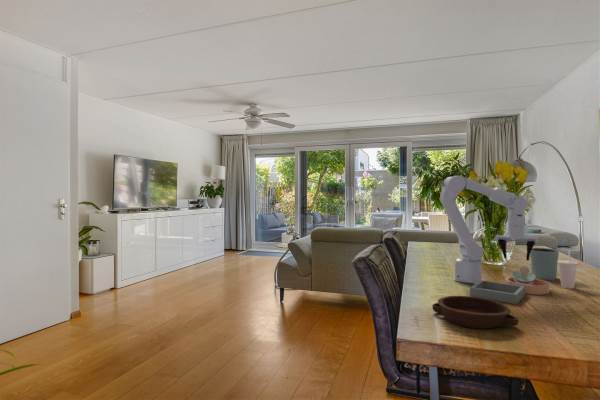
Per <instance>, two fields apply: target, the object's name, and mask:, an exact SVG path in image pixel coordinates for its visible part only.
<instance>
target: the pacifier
mask: <svg viewBox="0 0 600 400" xmlns="http://www.w3.org/2000/svg"><path fill="white" fill-rule="evenodd" d="M519 271H520V272H519ZM519 271H517V270H514V271H512V275H513V276H512V277H515V278H514V281H515V282H516V283H518V284H525V283H520V282H518V281H517V280H519V281H522V282H531V283H528V284H525V285H533V284H534V282H533V280H534V279H536V278H535V274H532V272H530V268H529V267H528V266H525V265H524V266H521V267H520V268H519Z"/></svg>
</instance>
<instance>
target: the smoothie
mask: <svg viewBox="0 0 600 400" xmlns="http://www.w3.org/2000/svg"><path fill="white" fill-rule="evenodd" d="M567 251H568V252H567V254H568V255H567V256H568V257H567V258H568V259H567V260H558V261H557V268H558V273H559V277H560V279H559V280H560V284H561V288H563V287H564V289H568V290H570V289H571V290H573V289H574V288H575V283H576V276H577V271H578V270H577V269H578V266H579V263H578V262H576V261H572V260H571V250H567Z"/></svg>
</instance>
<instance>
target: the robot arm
mask: <svg viewBox="0 0 600 400" xmlns="http://www.w3.org/2000/svg"><path fill="white" fill-rule="evenodd" d="M463 190H471V191H474V192H476V193H479V194H482V195H484V196H487V197H488V199H489V200H490V201H491V202H493V203H496V204H498V205H501V206H504V207H506V209H507V235H500V234H499V235H498V234H496V235H495V239H494V240H495V241H497V243H498V245H499V247H500V249H501V251H502V255H503V259H504V260H505V259H507V242H524V243H526V258H525V259H526V261H530V257H531V256H530V253H531V250H532V248H534V245H536V243H537V244H538V243H539V237H537V236H527V235H525V234H526V232H525V230H526V227H525V225H526V223H525V222H526V221H525V216H526V215H525V214H526V213H525V211H526V208H527V207H528V205H529V203H528V202H527V200H526V198H525V197H524V196H521V195H516V193H515V192H509V191H507V190H504V188H503V187H495V188H491V187H489V186H486V185H484V184H482V183H480V182H478V181H475V180H473V179H470V178H469V177H465V176H461V175H453V176H448V177H446V178H445V179H444V180H443V182H442V184H441V192H440V200H439V201H440V203H441V205H442V207H443V209H444V212H445V213H446V217H447V218H448V220H449V222H450V224H451V226H452V228H453V230H454V232H455V234H456V236H457V238H458V244H459V253H460V254H461V255H462V256H461V258H456V260H455V264H454V282H461V283H468V284H472V285H475V284H476V283H478V282H479V281H481V280H484V279H482V258H483V257H484V254H485V253H484V252H485V251H484V248H482V247H481V246H480V245H479V244H478V243H477V241H476V239H475V238H474V237H473V235H472V234H471V231H470V229H469V228H468V225H467V223H466V221H465V220H464V217H463V214H462V212H461V211H460V209H459V207H458V204H457V202H456V199H457V197H458V195H459V194H460V193H461V192H462V191H463Z"/></svg>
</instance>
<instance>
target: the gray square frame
mask: <svg viewBox="0 0 600 400" xmlns="http://www.w3.org/2000/svg"><path fill="white" fill-rule="evenodd" d="M525 296H526V293H525V286H519V285H512V284H505V282H498V281H492V280H485V279H483V280H481V281H479V282H478V283H476V284H472V286H470V287H469V297H478V298H484V299H489V300H493V301H496V302H502V303H508V304H509V303H510V304H513V305H517V304H518V303H520V301H521V300H522V299H523V298H524V297H525Z"/></svg>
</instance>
